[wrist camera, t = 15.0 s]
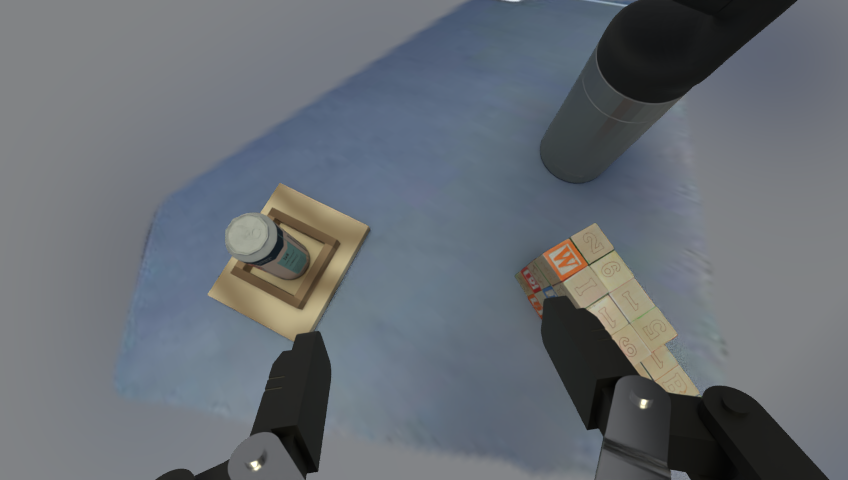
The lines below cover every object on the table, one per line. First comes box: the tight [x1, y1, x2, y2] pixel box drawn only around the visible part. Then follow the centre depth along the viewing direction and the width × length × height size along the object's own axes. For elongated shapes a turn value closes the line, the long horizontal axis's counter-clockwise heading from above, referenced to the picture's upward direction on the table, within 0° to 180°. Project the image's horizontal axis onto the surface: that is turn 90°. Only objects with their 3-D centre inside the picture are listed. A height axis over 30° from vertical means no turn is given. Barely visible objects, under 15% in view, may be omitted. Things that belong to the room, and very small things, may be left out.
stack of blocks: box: [515, 223, 702, 397], centre depth 39 cm, size 21×6×12 cm, turn 30°
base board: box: [208, 183, 370, 341], centre depth 45 cm, size 16×13×4 cm
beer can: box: [225, 213, 310, 280], centre depth 40 cm, size 5×5×12 cm
